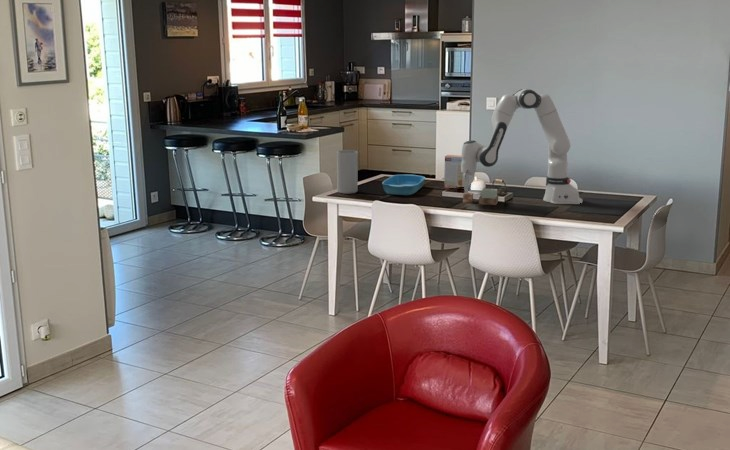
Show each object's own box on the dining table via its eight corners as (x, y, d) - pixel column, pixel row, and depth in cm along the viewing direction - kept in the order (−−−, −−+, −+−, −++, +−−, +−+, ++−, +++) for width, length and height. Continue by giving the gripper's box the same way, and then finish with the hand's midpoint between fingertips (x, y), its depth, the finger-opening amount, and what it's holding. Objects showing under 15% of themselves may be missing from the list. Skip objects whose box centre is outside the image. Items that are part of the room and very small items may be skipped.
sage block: (497, 195, 466) (497, 189, 465) (495, 198, 458) (495, 191, 457) (483, 195, 468) (483, 188, 467) (481, 197, 460) (481, 191, 459)
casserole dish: (413, 198, 478) (413, 186, 476) (377, 195, 485) (377, 183, 483) (428, 186, 512) (428, 175, 510) (395, 184, 519) (395, 173, 517)
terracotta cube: (472, 201, 469) (473, 192, 468) (471, 202, 464) (471, 194, 463) (464, 200, 470) (464, 192, 469) (462, 202, 466) (463, 194, 464)
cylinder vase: (360, 193, 490) (360, 152, 484) (340, 194, 486) (340, 153, 480) (353, 189, 502) (353, 149, 495) (334, 190, 498) (334, 150, 491)
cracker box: (468, 188, 503) (469, 155, 498) (465, 190, 498) (466, 157, 493) (446, 186, 509) (447, 154, 504) (443, 188, 503) (444, 155, 498)
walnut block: (498, 202, 468) (498, 195, 467) (496, 205, 458) (496, 199, 457) (480, 201, 470) (481, 194, 469) (478, 204, 461) (478, 198, 460)
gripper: (471, 172, 452) (470, 196, 455) (476, 166, 471) (475, 189, 474) (460, 171, 454) (459, 195, 457) (465, 165, 473) (464, 188, 476)
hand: (467, 192), depth 466 cm, fingers open, 8 cm apart
